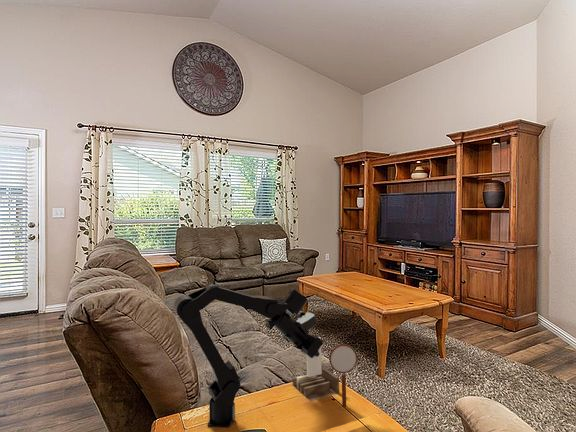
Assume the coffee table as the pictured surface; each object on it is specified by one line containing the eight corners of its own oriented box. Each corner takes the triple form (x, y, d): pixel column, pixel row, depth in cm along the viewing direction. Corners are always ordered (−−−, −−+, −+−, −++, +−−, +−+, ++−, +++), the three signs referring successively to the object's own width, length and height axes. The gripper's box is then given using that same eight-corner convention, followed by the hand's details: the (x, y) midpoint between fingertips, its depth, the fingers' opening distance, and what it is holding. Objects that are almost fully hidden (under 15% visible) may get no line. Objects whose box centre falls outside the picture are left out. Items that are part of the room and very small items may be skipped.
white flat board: (308, 377, 112) (307, 340, 112) (306, 375, 113) (306, 339, 114) (321, 373, 114) (320, 337, 115) (319, 372, 115) (319, 336, 116)
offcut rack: (310, 405, 107) (309, 384, 107) (291, 388, 118) (291, 369, 119) (339, 397, 112) (338, 377, 112) (319, 382, 123) (318, 363, 123)
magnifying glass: (357, 408, 105) (356, 342, 106) (359, 411, 103) (357, 344, 104) (329, 410, 104) (328, 343, 105) (330, 413, 103) (329, 345, 103)
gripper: (317, 312, 104) (347, 342, 109) (290, 300, 121) (317, 327, 126) (294, 342, 101) (327, 372, 105) (269, 326, 117) (298, 353, 122)
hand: (317, 354), depth 114 cm, fingers closed on white flat board, 1 cm apart
